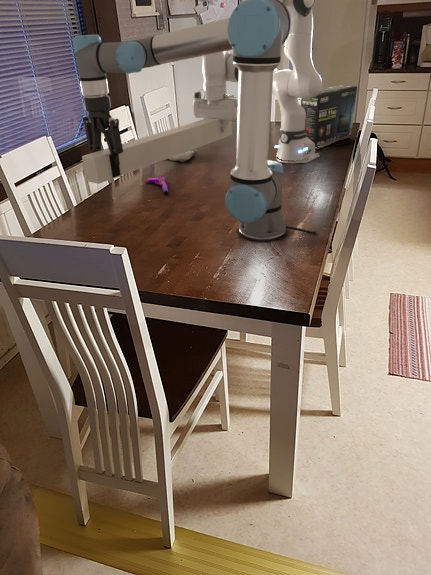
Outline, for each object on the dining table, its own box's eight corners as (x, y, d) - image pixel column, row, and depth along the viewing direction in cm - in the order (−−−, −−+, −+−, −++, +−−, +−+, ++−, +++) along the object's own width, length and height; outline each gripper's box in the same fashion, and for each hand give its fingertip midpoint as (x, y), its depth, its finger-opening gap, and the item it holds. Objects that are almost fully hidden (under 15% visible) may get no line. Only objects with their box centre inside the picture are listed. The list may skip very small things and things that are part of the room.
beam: (98, 183, 138) (94, 158, 134) (86, 181, 141) (81, 156, 137) (232, 134, 187) (232, 115, 183) (221, 133, 190) (220, 114, 186)
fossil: (184, 156, 217) (163, 136, 220) (174, 174, 223) (154, 154, 227) (205, 153, 231) (186, 134, 234) (195, 171, 237) (176, 152, 240)
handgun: (147, 181, 199) (146, 177, 198) (164, 179, 200) (164, 175, 199) (150, 197, 182) (149, 192, 181) (169, 195, 183) (169, 190, 182)
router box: (314, 151, 231) (318, 94, 217) (296, 148, 237) (299, 92, 224) (352, 138, 251) (358, 85, 238) (335, 135, 258) (340, 83, 245)
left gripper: (128, 95, 130) (139, 175, 142) (85, 92, 140) (98, 167, 152) (108, 99, 125) (121, 182, 137) (65, 96, 135) (81, 173, 147)
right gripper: (242, 94, 172) (242, 131, 179) (199, 91, 183) (201, 126, 190) (232, 96, 168) (233, 135, 175) (189, 93, 179) (192, 130, 186)
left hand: (109, 174), depth 144 cm, fingers closed on beam, 6 cm apart
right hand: (216, 130), depth 183 cm, fingers closed on beam, 5 cm apart
